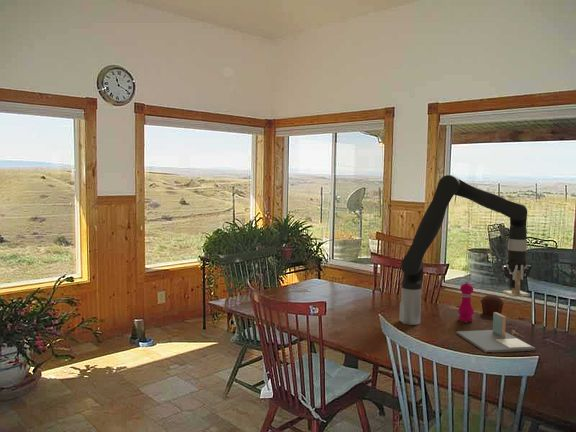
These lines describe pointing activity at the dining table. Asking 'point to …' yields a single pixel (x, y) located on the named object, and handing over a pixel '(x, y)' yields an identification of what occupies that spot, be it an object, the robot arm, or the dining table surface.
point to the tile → (499, 324)
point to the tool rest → (513, 343)
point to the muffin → (491, 305)
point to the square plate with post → (516, 287)
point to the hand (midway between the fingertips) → (515, 287)
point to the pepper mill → (466, 303)
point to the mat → (490, 341)
